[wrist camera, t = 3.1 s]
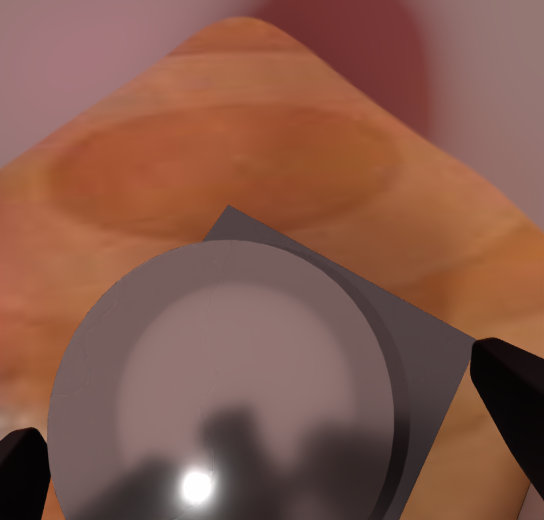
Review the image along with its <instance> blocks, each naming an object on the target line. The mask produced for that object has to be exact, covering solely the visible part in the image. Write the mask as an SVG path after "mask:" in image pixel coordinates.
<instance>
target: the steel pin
mask: <svg viewBox="0 0 544 520" xmlns="http://www.w3.org/2000/svg"><path fill="white" fill-rule="evenodd" d="M410 427H411V423H410V399H409V392H408V385H407V379H406V375H405V371H404V368H403V364H402V361H401V357H400V354H399V352H398V350H397V347H396V345H395V342H394V340H393V338H392V335H391V334H390V332H389V330H388V328H387V327H386V325H385V323H384V321H383V319H382V318H381V316H380V315H379V313H378V312H377V311H376V309H375V308H374V307H373V305H372V304H371V303H370V301H369V300H368V299H367V298H366V297H365V296H364V295H363V294H362V293H361V292H360V290H359V289H358V288H357V287H356V286H355V285H354V284H352V283H351V282H350V281H349V280H348V279H346V278H345V277H344V276H343V275H341V274H340V273H339V272H338V271H336V270H334V269H333V268H331V267H330V266H328V265H327V264H325V263H323V262H322V261H320V260H318V259H315V258H313V257H311V256H309V255H307V254H305V253H302V252H299V251H296V250H293V249H290V248H287V247H282V246H277V245H272V244H266V243H255V242H250V241H239V240H216V241H206V242H200V243H195V244H189V245H186V246H183V247H179V248H176V249H173V250H170V251H168V252H165V253H163V254H161V255H158V256H156V257H154V258H152V259H150V260H148V261H147V262H145V263H143V264H141V265H140V266H138V267H136V268H135V269H133V270H132V271H131V272H129V273H128V274H127V275H125V276H124V277H123V278H121V279H120V280H119V281H117V282H116V283H115V284H114V285H113V286H112V287H111V288H110V289H109V290H108V291H107V292H106V293H105V294H104V295H103V296H102V297H101V298H100V299H99V300H98V301H97V302H96V304H95V305H94V306H93V307H92V308H91V310H90V311H89V312H88V313H87V315H86V316H85V318H84V319H83V321H82V322H81V324H80V325H79V327H78V328H77V330H76V331H75V333H74V335H73V337H72V339H71V341H70V343H69V345H68V347H67V349H66V351H65V353H64V355H63V358H62V361H61V363H60V366H59V369H58V371H57V374H56V378H55V382H54V386H53V390H52V394H51V399H50V406H49V413H48V426H47V447H48V457H49V467H50V472H51V476H52V481H53V485H54V489H55V493H56V496H57V499H58V501H59V504H60V507H61V509H62V512H63V514H64V517H65V519H66V520H382V519H383V518H384V516H385V514H386V512H387V510H388V508H389V506H390V505H391V503H392V501H393V499H394V496H395V494H396V491H397V488H398V486H399V483H400V480H401V478H402V475H403V470H404V466H405V462H406V458H407V453H408V447H409V437H410Z"/></svg>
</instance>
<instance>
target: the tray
mask: <svg viewBox="0 0 544 520" xmlns="http://www.w3.org/2000/svg"><path fill="white" fill-rule="evenodd" d="M517 520H544V501H543V499H542V498H541V496H540V495H539V493H538V492H537V490H536V489H535V488H534V486H533V485H532V483H531V484H530V487H529V489H528V492H527V495H526V497H525V500H524V503H523V506H522V508H521V511H520V514H519V517H518V519H517Z"/></svg>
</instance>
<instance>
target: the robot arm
mask: <svg viewBox="0 0 544 520" xmlns="http://www.w3.org/2000/svg"><path fill="white" fill-rule="evenodd" d="M470 376H471V379H472V382H473V384H474V386H475V387H476V389H477V391H478V393H479V395H480V397H481V399H482V400H483V402H484V404H485V406H486V408H487V410H488V411H489V413H490V415H491V417H492V419H493V421H494V422H495V424H496V426H497V428H498V430H499V432H500V433H501V435H502V437H503V439H504V441H505V443H506V444H507V446H508V448H509V450H510V451H511V453H512V455H513V456H514V458H515V459H516V461H517V462H518V464H519V465H520V467H521V468H522V470H523V471H524V473H525V474H526V476H527V477H528V479H529V480H530V482H531V483H532V485H533V486H534V488H535V489H536V490H537V492H538V493H539V495H540V496H541V498H542V499H543V501H544V359H543V358H541V357H538V356H536V355H534V354H532V353H529V352H527V351H525V350H523V349H520V348H518V347H516V346H514V345H512V344H509V343H507V342H505V341H503V340H500V339H498V338H494V337H491V338H485V339H480V340H476V341H474V343H473V344H472V351H471V363H470ZM50 479H51V472H50V467H49V457H48V447H47V443H46V442H45V440H44V438H43V437H42V435H41V434H40V432H39V431H38V430H37V429H36V428H32V427H30V428H25V429H20V430H15V431H12V432H11V433H9V434H8V435H7V436H6V437H4V438H3V439H2V440H1V441H0V520H41V518H42V514H43V509H44V505H45V501H46V496H47V492H48V487H49V483H50Z"/></svg>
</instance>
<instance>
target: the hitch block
mask: <svg viewBox="0 0 544 520" xmlns="http://www.w3.org/2000/svg"><path fill="white" fill-rule="evenodd" d="M216 240H239V241H250V242H255V243H266V244H272V245H277V246H282V247H287V248H290V249H293V250H296V251H299V252H302V253H305V254H307V255H309V256H311V257H313V258H315V259H318V260H320V261H322V262H323V263H325V264H327V265H328V266H330V267H331V268H333V269H334V270H336V271H338V272H339V273H340V274H341V275H343V276H344V277H345V278H346V279H348V280H349V281H350V282H351V283H352V284H354V285H355V286H356V287H357V288H358V289H359V290H360V292H361V293H362V294H363V295H364V296H365V297H366V298H367V299H368V300H369V301H370V303H371V304H372V305H373V307H374V308H375V309H376V311H377V312H378V313H379V315H380V316H381V318H382V319H383V321H384V323H385V325H386V327H387V328H388V330H389V332H390V334H391V335H392V338H393V340H394V342H395V345H396V347H397V350H398V352H399V354H400V357H401V361H402V364H403V368H404V371H405V375H406V379H407V385H408V392H409V399H410V423H411V427H410V437H409V447H408V453H407V458H406V462H405V466H404V470H403V475H402V478H401V480H400V483H399V486H398V488H397V491H396V494H395V496H394V499H393V501H392V503H391V505H390V506H389V508H388V510H387V512H386V514H385V516H384V518H383V519H382V520H399V519H400V516H401V514H402V512H403V510H404V507H405V505H406V503H407V501H408V498H409V496H410V494H411V492H412V489H413V487H414V485H415V483H416V480H417V478H418V476H419V474H420V471H421V469H422V467H423V465H424V462H425V460H426V458H427V456H428V453H429V451H430V449H431V447H432V445H433V442H434V440H435V438H436V436H437V433H438V431H439V429H440V427H441V424H442V422H443V420H444V418H445V415H446V413H447V411H448V409H449V406H450V404H451V402H452V400H453V397H454V395H455V393H456V391H457V388H458V386H459V384H460V382H461V379H462V377H463V375H464V373H465V370H466V368H467V366H468V364H469V361H470V359H471V351H472V344H473V343H474V341H476V339H474V338H472V337H470V336H469V335H467V334H465V333H463V332H461V331H459V330H458V329H456V328H454V327H452V326H450V325H448V324H447V323H445V322H443V321H441V320H439V319H437V318H436V317H434V316H432V315H430V314H428V313H426V312H424V311H423V310H421V309H419V308H417V307H415V306H413V305H412V304H410V303H408V302H406V301H404V300H402V299H401V298H399V297H397V296H395V295H393V294H391V293H390V292H388V291H386V290H384V289H382V288H380V287H379V286H377V285H375V284H373V283H371V282H369V281H367V280H366V279H364V278H362V277H360V276H358V275H356V274H355V273H353V272H351V271H349V270H347V269H345V268H344V267H342V266H340V265H338V264H336V263H334V262H333V261H331V260H329V259H327V258H325V257H323V256H322V255H320V254H318V253H316V252H314V251H312V250H310V249H309V248H307V247H305V246H303V245H301V244H299V243H298V242H296V241H294V240H292V239H290V238H288V237H287V236H285V235H283V234H281V233H279V232H277V231H276V230H274V229H272V228H270V227H268V226H266V225H264V224H263V223H261V222H259V221H257V220H255V219H253V218H252V217H250V216H248V215H246V214H244V213H242V212H241V211H239V210H237V209H235V208H233V207H231V206H230V205H228V206H227V207H226V209H225V210H224V212H223V213H222V215H221V216H220V217H219V219H218V220H217V222H216V223H215V225H214V226H213V227H212V229H211V230H210V232H209V233H208V234H207V236H206V237H205V239H204V240H203V242H206V241H216Z"/></svg>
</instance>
